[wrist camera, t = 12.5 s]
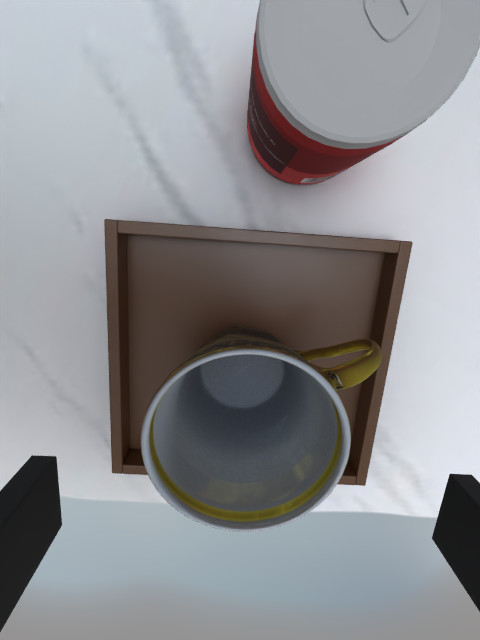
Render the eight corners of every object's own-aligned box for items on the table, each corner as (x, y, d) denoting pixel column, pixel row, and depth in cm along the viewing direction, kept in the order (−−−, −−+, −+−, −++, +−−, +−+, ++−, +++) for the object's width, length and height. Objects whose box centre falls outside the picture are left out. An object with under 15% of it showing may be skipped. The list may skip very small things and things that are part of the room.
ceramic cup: (224, 445, 27) (218, 563, 17) (149, 349, 25) (95, 422, 15) (364, 362, 25) (444, 442, 16) (297, 252, 23) (342, 264, 14)
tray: (122, 452, 28) (111, 473, 25) (117, 220, 23) (104, 219, 21) (354, 464, 28) (365, 486, 26) (394, 240, 24) (412, 241, 21)
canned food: (390, 105, 21) (543, -22, 11) (314, 211, 23) (382, 191, 12) (297, 23, 20) (365, -209, 10) (223, 141, 22) (211, 52, 11)
